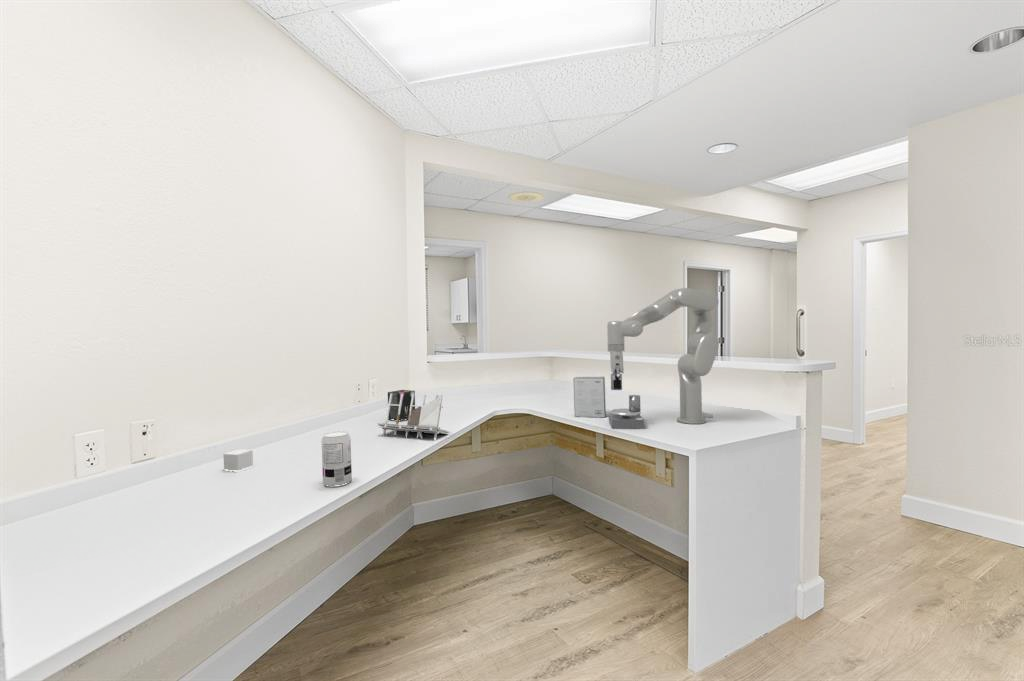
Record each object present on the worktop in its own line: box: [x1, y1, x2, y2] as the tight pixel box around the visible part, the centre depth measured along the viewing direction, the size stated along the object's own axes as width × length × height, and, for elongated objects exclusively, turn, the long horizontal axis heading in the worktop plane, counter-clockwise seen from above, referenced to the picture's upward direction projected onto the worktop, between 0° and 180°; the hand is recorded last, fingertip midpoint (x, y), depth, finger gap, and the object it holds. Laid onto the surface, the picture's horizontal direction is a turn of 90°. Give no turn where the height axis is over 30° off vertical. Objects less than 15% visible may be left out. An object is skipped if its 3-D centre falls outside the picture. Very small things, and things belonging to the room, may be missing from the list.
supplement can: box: [321, 430, 353, 486], centre depth 137 cm, size 8×8×15 cm
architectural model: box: [376, 393, 450, 439], centre depth 197 cm, size 20×29×21 cm
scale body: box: [608, 413, 645, 430], centre depth 207 cm, size 14×14×4 cm
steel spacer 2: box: [628, 394, 641, 412], centre depth 206 cm, size 5×5×7 cm
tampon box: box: [387, 389, 416, 421], centre depth 235 cm, size 11×9×15 cm
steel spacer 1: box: [610, 373, 623, 391], centre depth 207 cm, size 5×5×7 cm
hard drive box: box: [573, 376, 607, 418], centre depth 231 cm, size 16×8×20 cm, turn 74°
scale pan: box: [610, 408, 641, 417], centre depth 207 cm, size 13×13×3 cm
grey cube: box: [223, 448, 254, 470], centre depth 154 cm, size 6×6×6 cm
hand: (616, 387), depth 207 cm, fingers closed on steel spacer 1, 5 cm apart
